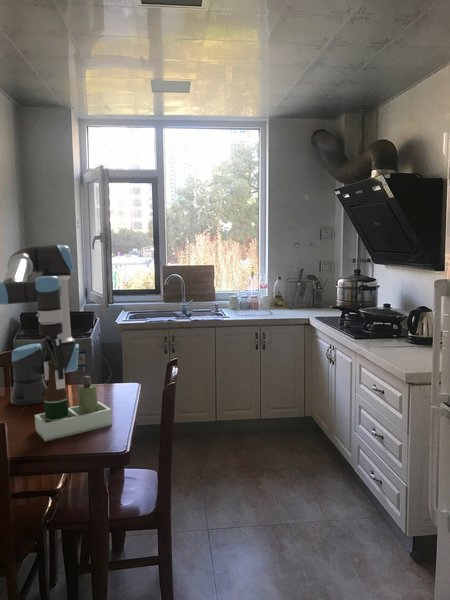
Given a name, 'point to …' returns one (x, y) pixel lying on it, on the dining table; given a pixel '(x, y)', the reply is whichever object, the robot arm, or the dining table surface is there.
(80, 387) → the olive bottle
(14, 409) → the dining table surface
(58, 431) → the caddy
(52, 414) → the beer bottle
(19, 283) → the robot arm
